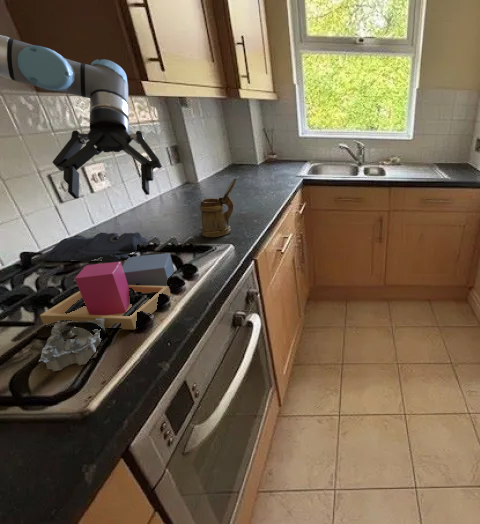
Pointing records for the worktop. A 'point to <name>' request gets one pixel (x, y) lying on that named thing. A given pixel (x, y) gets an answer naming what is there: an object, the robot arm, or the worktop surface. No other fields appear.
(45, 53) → the robot arm
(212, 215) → the wooden mug
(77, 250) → the dark slate chunk
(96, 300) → the pink block
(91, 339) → the grey lumpy chunk
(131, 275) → the grey block
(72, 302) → the tray
